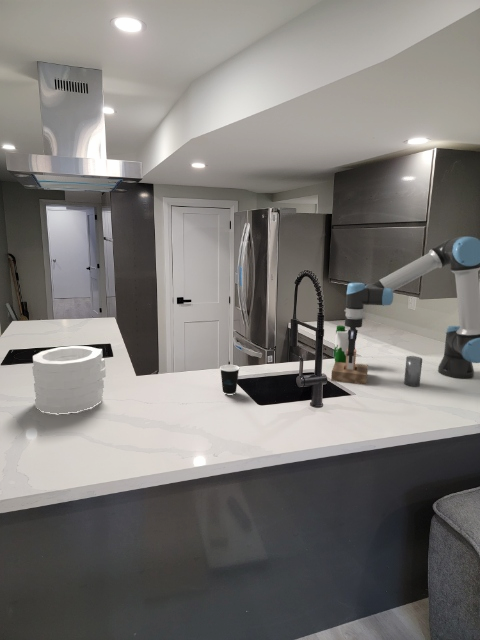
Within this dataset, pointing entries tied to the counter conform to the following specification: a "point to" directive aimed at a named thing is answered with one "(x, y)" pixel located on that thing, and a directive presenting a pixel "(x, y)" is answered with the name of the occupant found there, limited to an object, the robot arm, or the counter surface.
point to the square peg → (354, 359)
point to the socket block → (349, 373)
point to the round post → (413, 371)
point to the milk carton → (341, 344)
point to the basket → (68, 378)
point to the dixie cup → (229, 378)
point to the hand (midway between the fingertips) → (350, 367)
